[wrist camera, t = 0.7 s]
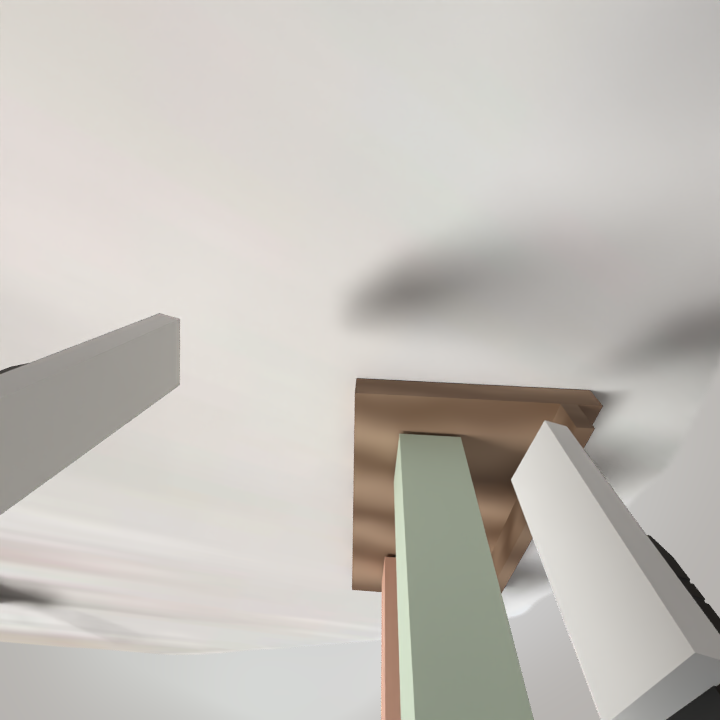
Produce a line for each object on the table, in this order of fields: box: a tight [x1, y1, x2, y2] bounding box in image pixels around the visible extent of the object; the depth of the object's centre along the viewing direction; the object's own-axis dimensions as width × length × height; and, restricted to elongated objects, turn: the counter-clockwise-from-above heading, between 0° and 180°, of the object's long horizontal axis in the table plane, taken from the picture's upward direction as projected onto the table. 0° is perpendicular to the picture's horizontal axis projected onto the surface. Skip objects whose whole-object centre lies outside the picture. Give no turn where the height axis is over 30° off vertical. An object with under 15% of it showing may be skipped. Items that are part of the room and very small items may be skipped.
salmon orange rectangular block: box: [381, 557, 401, 720], centre depth 26 cm, size 5×4×14 cm
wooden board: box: [352, 379, 603, 593], centre depth 28 cm, size 27×15×4 cm, turn 179°
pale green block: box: [394, 434, 534, 720], centre depth 18 cm, size 5×4×14 cm
